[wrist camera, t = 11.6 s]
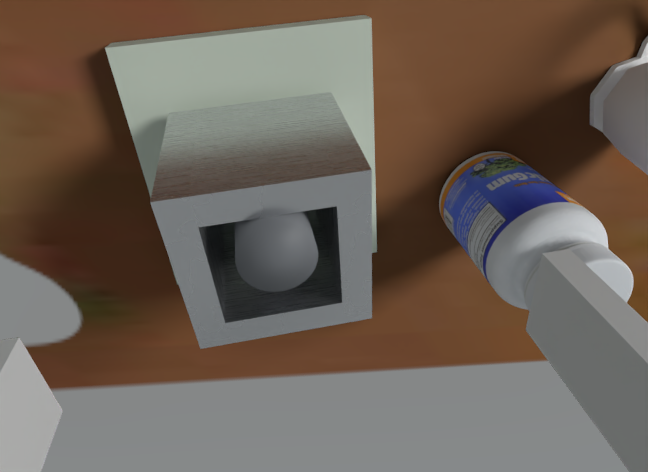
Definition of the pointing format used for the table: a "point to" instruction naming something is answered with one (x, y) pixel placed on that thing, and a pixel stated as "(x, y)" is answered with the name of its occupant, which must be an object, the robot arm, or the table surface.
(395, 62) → the table surface
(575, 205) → the pill bottle
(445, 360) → the table surface
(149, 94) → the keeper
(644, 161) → the cup
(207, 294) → the hollow grey square tube
